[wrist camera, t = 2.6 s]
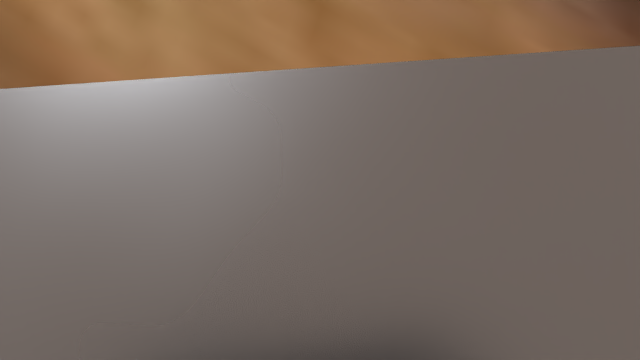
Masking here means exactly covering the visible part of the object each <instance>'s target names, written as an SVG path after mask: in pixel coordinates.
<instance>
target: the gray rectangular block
mask: <svg viewBox="0 0 640 360" xmlns="http://www.w3.org/2000/svg"><path fill="white" fill-rule="evenodd" d="M0 360H640V46H629V47H615V48H600V49H585V50H570V51H556V52H541V53H526V54H511V55H496V56H482V57H467V58H452V59H437V60H423V61H408V62H393V63H378V64H363V65H349V66H334V67H319V68H304V69H289V70H275V71H260V72H245V73H230V74H216V75H201V76H186V77H171V78H156V79H142V80H127V81H112V82H97V83H83V84H68V85H53V86H38V87H23V88H9V89H0Z"/></svg>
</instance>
